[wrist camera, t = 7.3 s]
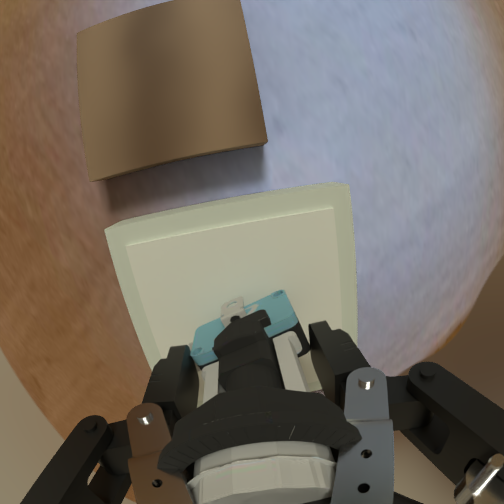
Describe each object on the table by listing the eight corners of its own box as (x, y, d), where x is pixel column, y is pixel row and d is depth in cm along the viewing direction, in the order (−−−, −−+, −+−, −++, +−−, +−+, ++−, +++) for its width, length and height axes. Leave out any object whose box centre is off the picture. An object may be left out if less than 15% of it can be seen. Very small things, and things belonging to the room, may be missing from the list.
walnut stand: (236, 6, 13) (237, -11, 11) (263, 145, 15) (267, 141, 13) (90, 44, 12) (77, 32, 10) (104, 179, 15) (89, 182, 13)
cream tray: (332, 181, 16) (350, 184, 13) (343, 358, 19) (357, 381, 17) (121, 220, 16) (102, 230, 13) (175, 387, 19) (170, 414, 16)
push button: (202, 386, 15) (189, 554, 5) (148, 310, 14) (65, 485, 4) (315, 340, 15) (393, 506, 5) (274, 251, 13) (364, 421, 4)
